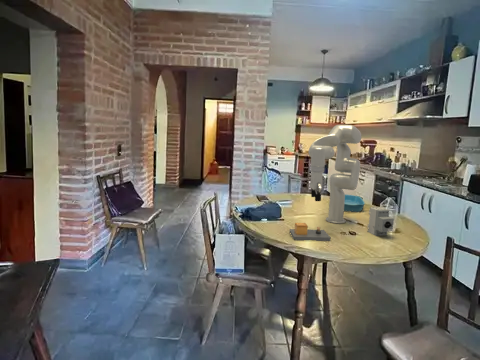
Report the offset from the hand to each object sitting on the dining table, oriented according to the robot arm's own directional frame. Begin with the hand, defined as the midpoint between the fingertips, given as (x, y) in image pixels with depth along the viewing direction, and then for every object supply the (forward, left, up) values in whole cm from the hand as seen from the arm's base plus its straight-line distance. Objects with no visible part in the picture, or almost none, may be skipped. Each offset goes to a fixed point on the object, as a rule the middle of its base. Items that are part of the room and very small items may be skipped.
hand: (315, 199), depth 197 cm
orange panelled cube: (+4, -8, -19) cm, 21 cm away
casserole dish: (-71, +43, -21) cm, 86 cm away
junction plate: (+4, -3, -21) cm, 21 cm away
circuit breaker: (-2, +40, -21) cm, 45 cm away
